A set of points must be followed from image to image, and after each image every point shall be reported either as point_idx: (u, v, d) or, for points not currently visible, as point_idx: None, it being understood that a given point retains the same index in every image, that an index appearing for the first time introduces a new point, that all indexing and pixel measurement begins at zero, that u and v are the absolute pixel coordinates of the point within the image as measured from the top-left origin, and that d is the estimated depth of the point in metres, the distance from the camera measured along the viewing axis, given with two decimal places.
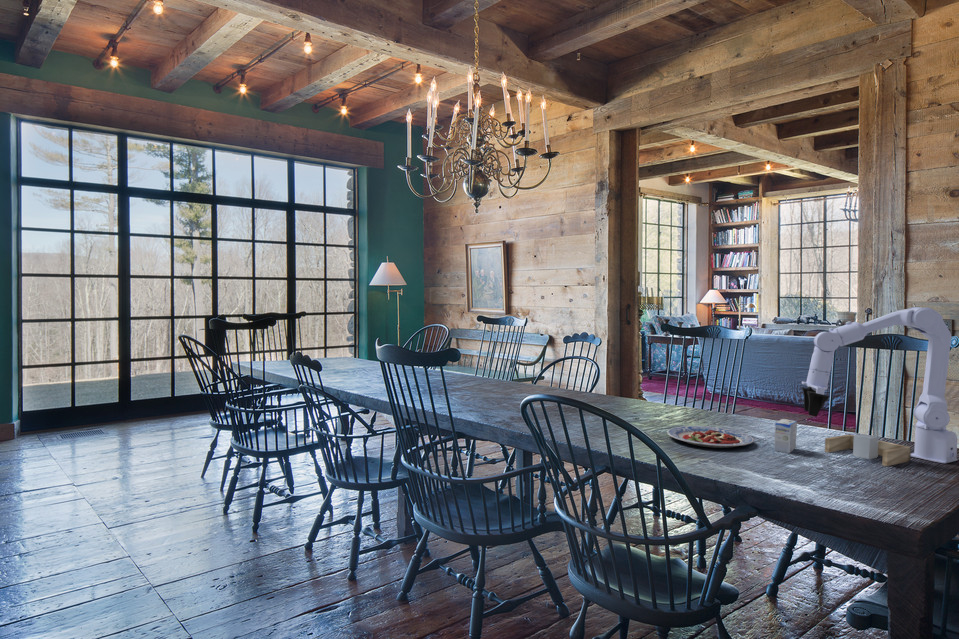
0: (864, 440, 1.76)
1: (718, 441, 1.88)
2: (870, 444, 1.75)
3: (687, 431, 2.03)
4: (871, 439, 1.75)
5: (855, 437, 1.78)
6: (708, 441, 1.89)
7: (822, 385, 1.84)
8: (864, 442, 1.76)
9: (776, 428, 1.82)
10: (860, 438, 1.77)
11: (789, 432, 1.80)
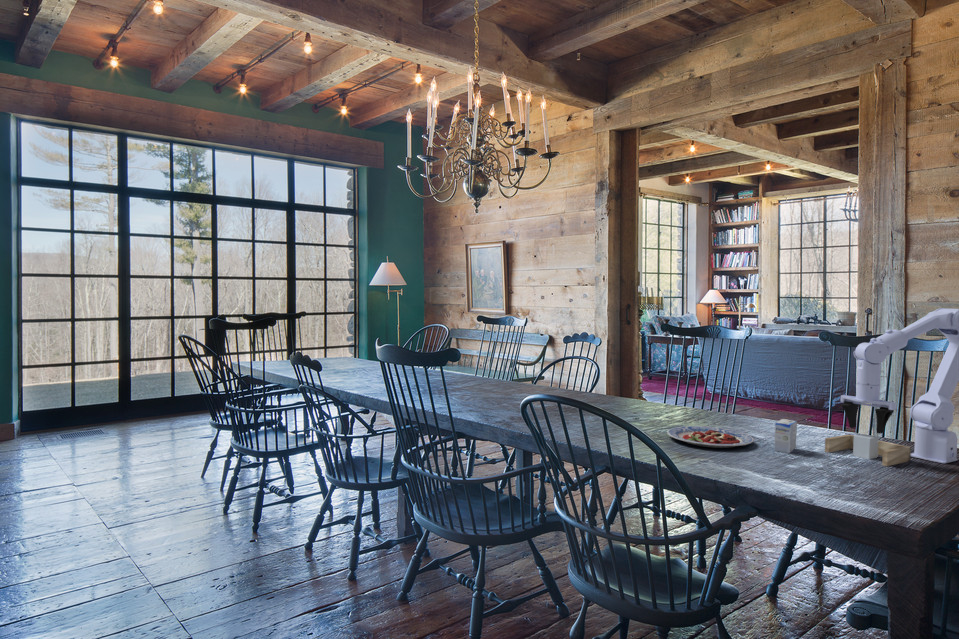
0: (864, 440, 1.76)
1: (718, 441, 1.88)
2: (870, 444, 1.75)
3: (687, 431, 2.03)
4: (871, 439, 1.75)
5: (855, 437, 1.78)
6: (708, 441, 1.89)
7: None
8: (864, 442, 1.76)
9: (776, 428, 1.82)
10: (860, 438, 1.77)
11: (789, 432, 1.80)
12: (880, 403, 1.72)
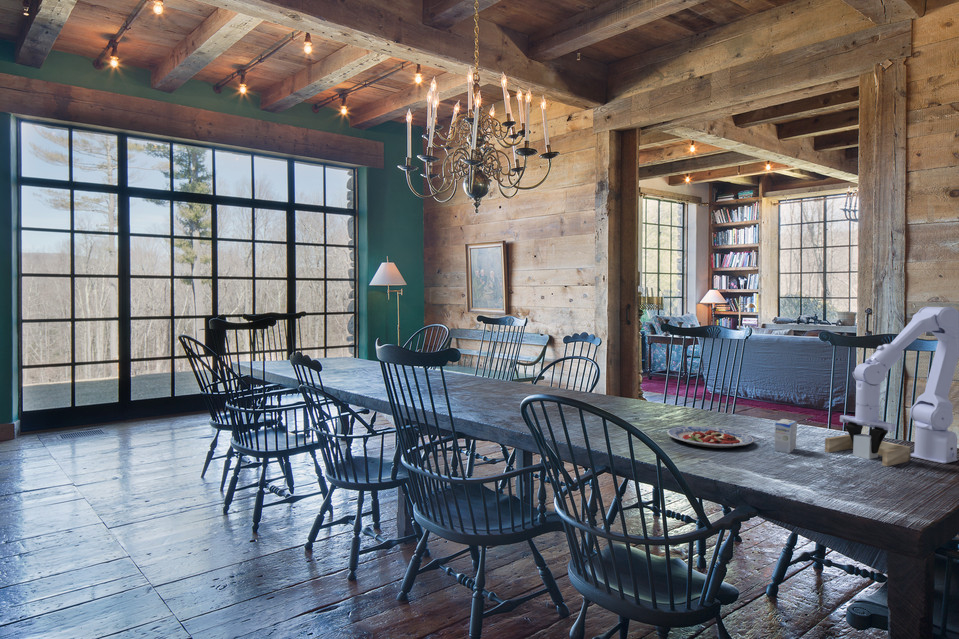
0: (864, 440, 1.76)
1: (718, 441, 1.88)
2: (870, 444, 1.75)
3: (687, 431, 2.03)
4: None
5: (855, 437, 1.78)
6: (708, 441, 1.89)
7: (878, 420, 1.76)
8: (864, 442, 1.76)
9: (776, 428, 1.82)
10: (860, 438, 1.77)
11: (789, 432, 1.80)
12: (879, 424, 1.73)
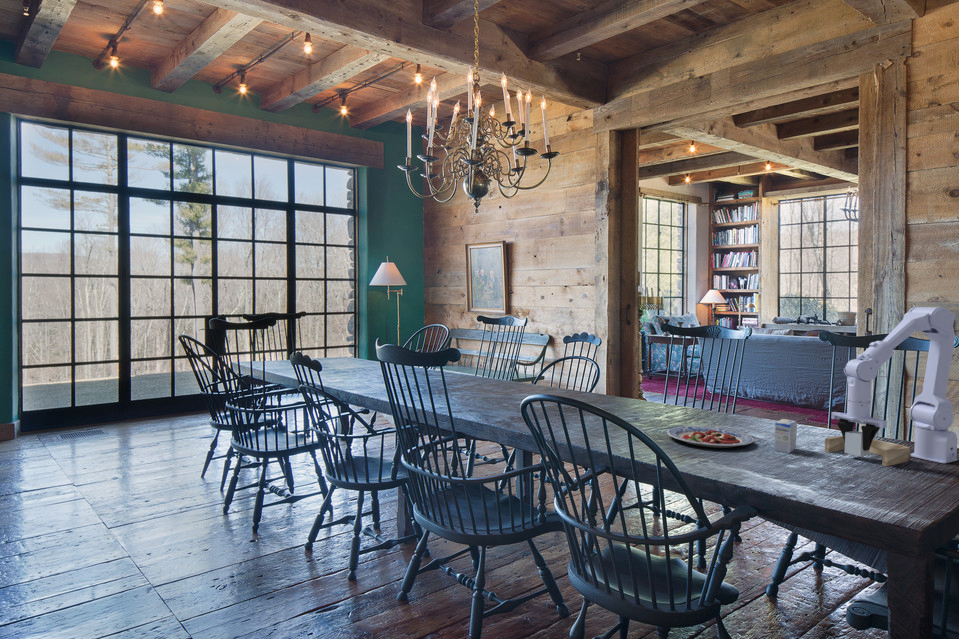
0: (855, 437, 1.74)
1: (718, 441, 1.88)
2: (862, 441, 1.73)
3: (687, 431, 2.03)
4: None
5: (847, 434, 1.76)
6: (708, 441, 1.89)
7: None
8: (855, 439, 1.74)
9: (776, 428, 1.82)
10: (852, 435, 1.75)
11: (789, 432, 1.80)
12: (871, 421, 1.71)
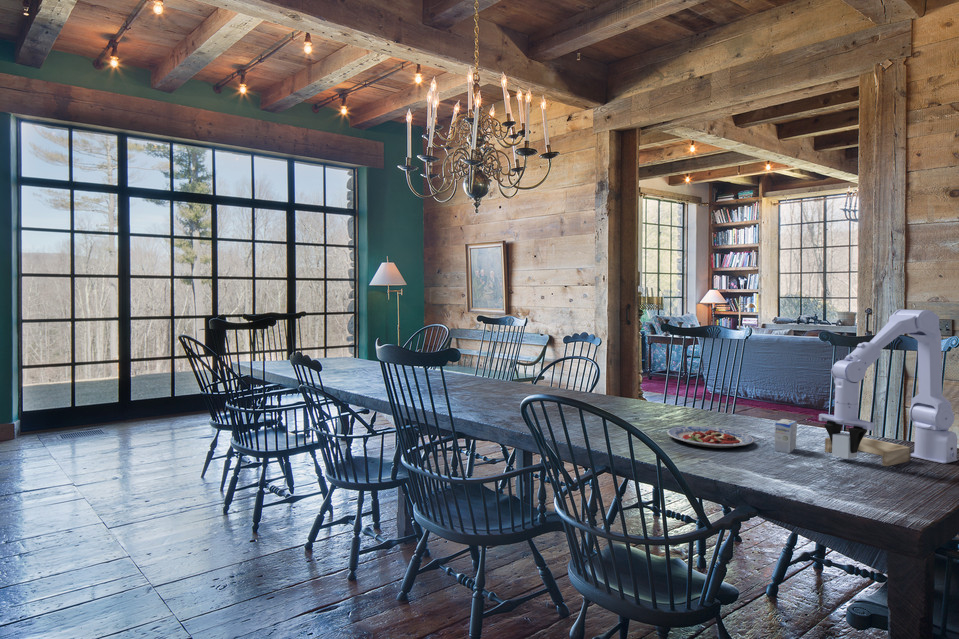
0: (842, 439, 1.71)
1: (718, 441, 1.88)
2: (849, 443, 1.70)
3: (687, 431, 2.03)
4: None
5: (834, 436, 1.73)
6: (708, 441, 1.89)
7: (857, 418, 1.70)
8: (843, 441, 1.71)
9: (776, 428, 1.82)
10: (839, 437, 1.72)
11: (789, 432, 1.80)
12: (858, 423, 1.68)
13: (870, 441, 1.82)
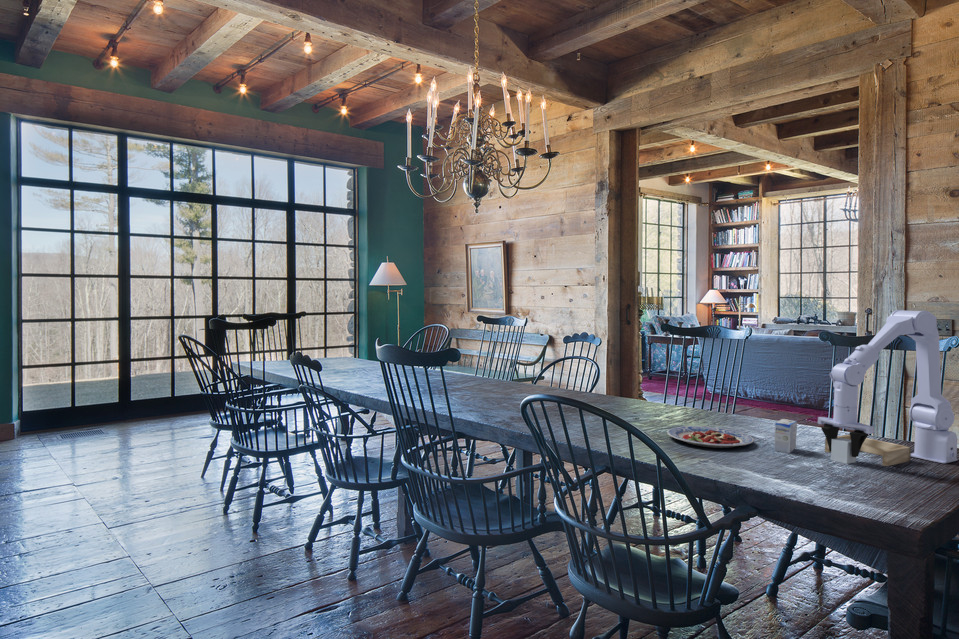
0: (841, 444, 1.71)
1: (718, 441, 1.88)
2: (848, 449, 1.69)
3: (687, 431, 2.03)
4: (849, 443, 1.70)
5: (833, 441, 1.73)
6: (708, 441, 1.89)
7: (856, 422, 1.70)
8: (841, 446, 1.70)
9: (776, 428, 1.82)
10: (838, 442, 1.71)
11: (789, 432, 1.80)
12: (857, 426, 1.67)
13: (870, 441, 1.82)
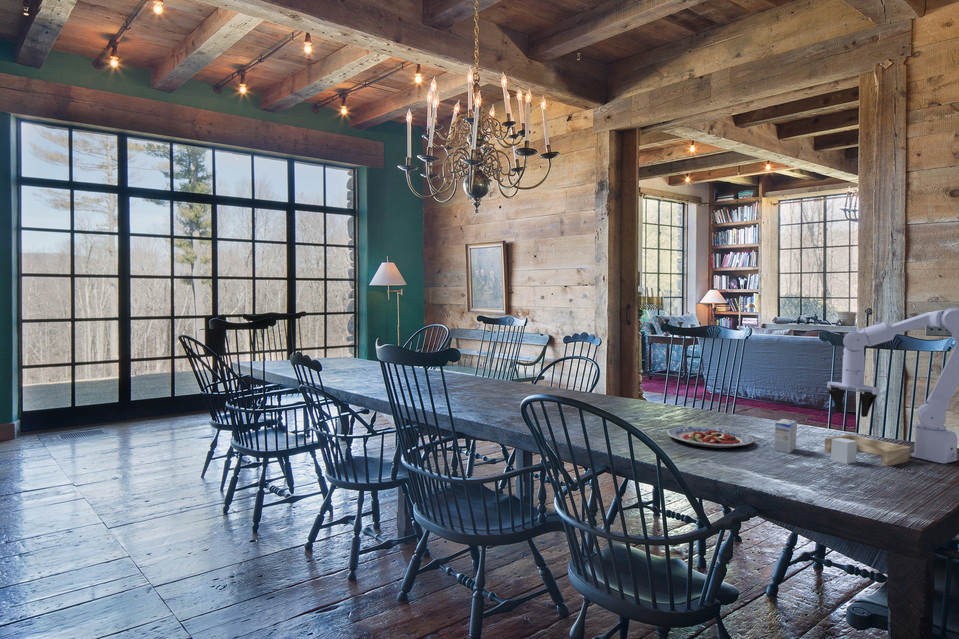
0: (841, 444, 1.71)
1: (718, 441, 1.88)
2: (848, 449, 1.69)
3: (687, 431, 2.03)
4: (849, 443, 1.70)
5: (833, 441, 1.73)
6: (708, 441, 1.89)
7: (863, 384, 1.85)
8: (842, 446, 1.70)
9: (776, 428, 1.82)
10: (838, 442, 1.71)
11: (789, 432, 1.80)
12: (864, 388, 1.83)
13: (870, 441, 1.82)
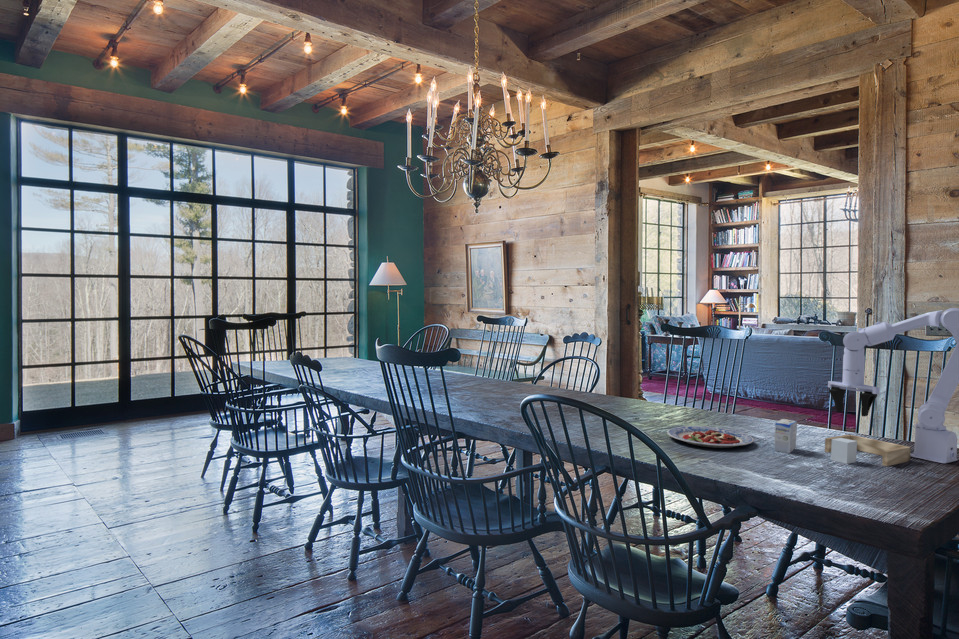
0: (841, 444, 1.71)
1: (718, 441, 1.88)
2: (848, 449, 1.69)
3: (687, 431, 2.03)
4: (849, 443, 1.70)
5: (833, 441, 1.73)
6: (708, 441, 1.89)
7: (863, 384, 1.86)
8: (842, 446, 1.70)
9: (776, 428, 1.82)
10: (838, 442, 1.71)
11: (789, 432, 1.80)
12: (864, 388, 1.83)
13: (870, 441, 1.82)
